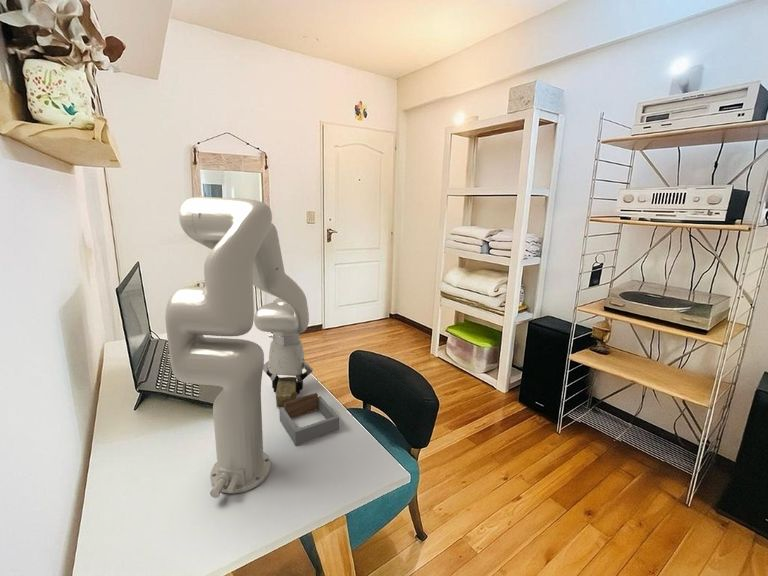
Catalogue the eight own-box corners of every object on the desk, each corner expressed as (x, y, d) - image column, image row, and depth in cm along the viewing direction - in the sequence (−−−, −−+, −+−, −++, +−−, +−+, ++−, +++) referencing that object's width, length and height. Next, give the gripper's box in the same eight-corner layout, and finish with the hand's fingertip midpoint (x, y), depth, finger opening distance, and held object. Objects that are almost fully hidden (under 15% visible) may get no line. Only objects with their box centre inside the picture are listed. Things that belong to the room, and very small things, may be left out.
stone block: (275, 410, 104) (275, 395, 102) (278, 390, 114) (277, 375, 113) (296, 408, 105) (296, 393, 104) (296, 388, 116) (296, 374, 114)
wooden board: (317, 410, 104) (317, 394, 103) (285, 420, 99) (285, 404, 98) (316, 407, 105) (316, 392, 104) (284, 417, 100) (283, 401, 98)
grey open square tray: (339, 430, 96) (339, 417, 95) (295, 446, 89) (295, 432, 88) (320, 408, 106) (320, 395, 105) (279, 420, 99) (279, 407, 98)
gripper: (253, 340, 105) (256, 395, 110) (311, 344, 104) (312, 399, 109) (262, 331, 112) (265, 382, 117) (317, 334, 112) (317, 386, 116)
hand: (287, 390), depth 113 cm, fingers closed on stone block, 6 cm apart
